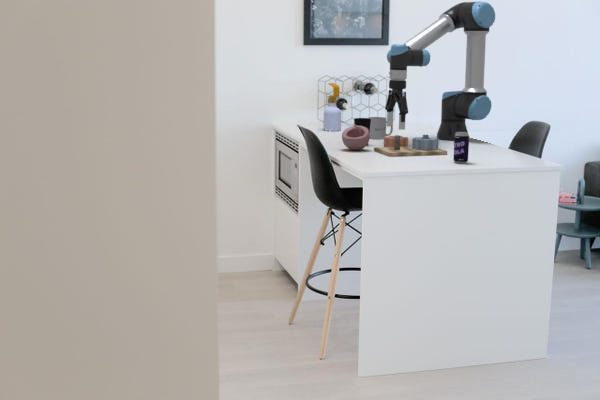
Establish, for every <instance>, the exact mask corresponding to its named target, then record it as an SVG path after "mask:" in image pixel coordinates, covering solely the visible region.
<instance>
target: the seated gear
mask: <svg viewBox="0 0 600 400" xmlns="http://www.w3.org/2000/svg"><path fill="white" fill-rule="evenodd" d="M411 139H412V141H411V142H412V145H411V146H412V149H415V150H424V151H428V150H436V149H439V144H440V143H439V142H440V141H439V140H440V139H437V137H429V136H428V139H423V136H422V137H421V136H415V137H412V138H411Z"/></svg>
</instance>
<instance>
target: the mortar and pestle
mask: <svg viewBox="0 0 600 400" xmlns="http://www.w3.org/2000/svg"><path fill="white" fill-rule="evenodd" d="M341 139H342V143H343V144H344V146H345V148H347V149H349V150H351V151H361V150H363V149H365V148H366V147H367V146H366V145H367V144H368V145H369V142H370V140H371V139H370V134H369V130H368V129H367V128H366V127H363V126H357V125H354V124H353V125H352V126H348V127H347V128H346V129H344V130H343V132H342V133H341Z"/></svg>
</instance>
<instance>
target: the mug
mask: <svg viewBox="0 0 600 400" xmlns="http://www.w3.org/2000/svg"><path fill="white" fill-rule="evenodd" d="M368 118H370V119H371V124H370V132H369V134H370V139H369V140H384V137H385V136H386V137H388V136H392V134H393V130H394V125H393V126H390V131H389V132H388V133H387V117H383V116H370V117H369V116H368Z"/></svg>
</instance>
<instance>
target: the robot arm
mask: <svg viewBox="0 0 600 400" xmlns="http://www.w3.org/2000/svg"><path fill="white" fill-rule="evenodd" d="M494 9H495V8H494V7H493V6H492V5H491V3H489V2H487V1H480V0H479V1H464V2H459V3H457V4H455V5H454V6H451V7H450V8H449V9H447V10H446V11H444V12H443V13H441V14H440V15H439V17H438V19H437V20H435V21H434V22H432V23H431V24H430V25H428V26H427V27H425V28H424V29H422V30H421V31H419V32H418V33H417V34H415V35H414V36H413V37H411V38H410V39H409V40H407V41H406V42H404V43H403V44H400V43H399V44H396V43H394V44H391V46H390V49H389V50H388V51H387V54H386V60H387V61H388V62H387V63H389V71H388V74H389V79H390V80H389V81H388V88H389V90H388V95H387V99H386V103H385V107H384V109H385V111H386V113H387V114H386V121H387V123H386V127H391V126H393V127H394V112H395V110H394V109H395V106H396V103H397V108H398V111H399V113H398V130H405V131H406V115H407V114H409V109H408V101H407V92H406V91H404V90H406V88H407V76H408V75H407V73H408V67H421V68H422V67H427V66H428V65H429V64H430V62H431V53H430V52H429V51H428V50H427V47H429V46H431V45H432V44H434V43H435V42H436V41H438V40H439V39H440V38H442V37H443V36H445V35H446V34H447V33H453V32H455V30H459V29H461V28H462V29H463V32H464V34H465V35H466V46H465V47H466V49H465V51H466V52H465V77H464V79H465V81H464V87H463V89H462V90H456V91H455V90H454V91H444V92H443V93H442V95H441V96H442V97H441V115H440V117H441V118H440V119H441V121H440V125H439V128H438V130H437V133H436V139H437V138H438V139H439V140H443V141H444V140H445V141H454V136H455V134H456V132H468V129H467V128H468V127H467V125H466V120H471V121H481V120H484V119H485V118H487V116H489V114H490V112H491V110H492V101H491V99H490V97H489V96H487V93H488V91H487V90H486V88H485V87H484V86H485V63H486V41H487V39H486V38H487V35H488V34H489V33H490V28H491V27H492V26H493V25H494V24H495V21H496V13H495V10H494ZM468 133H469V132H468Z"/></svg>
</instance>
